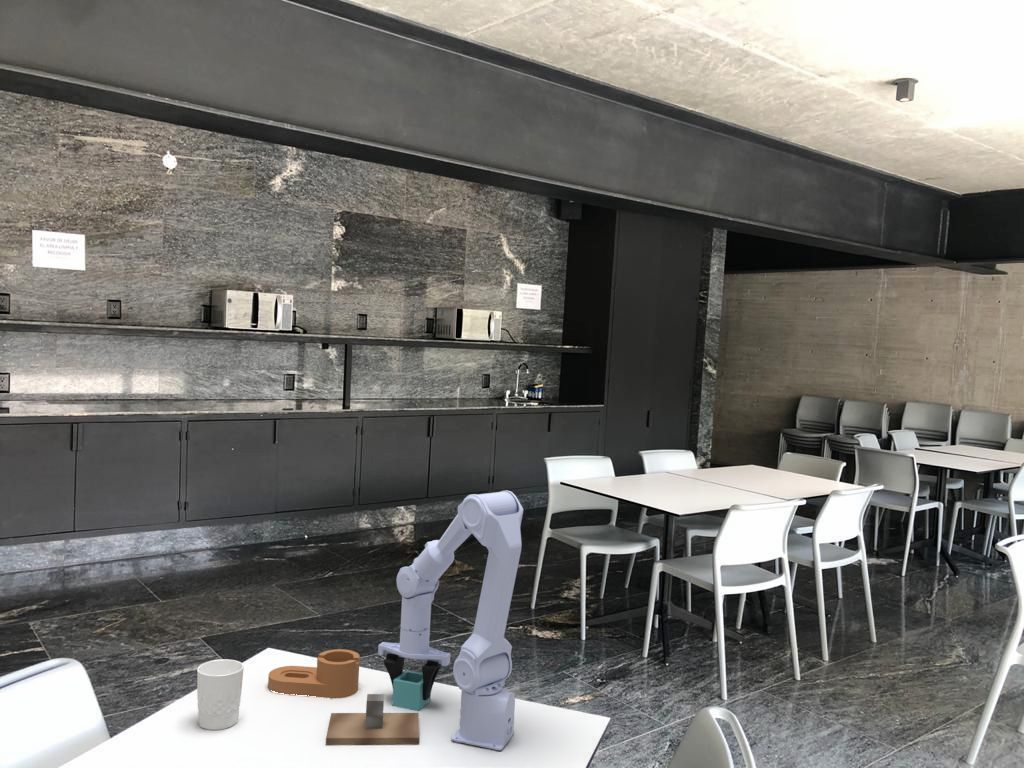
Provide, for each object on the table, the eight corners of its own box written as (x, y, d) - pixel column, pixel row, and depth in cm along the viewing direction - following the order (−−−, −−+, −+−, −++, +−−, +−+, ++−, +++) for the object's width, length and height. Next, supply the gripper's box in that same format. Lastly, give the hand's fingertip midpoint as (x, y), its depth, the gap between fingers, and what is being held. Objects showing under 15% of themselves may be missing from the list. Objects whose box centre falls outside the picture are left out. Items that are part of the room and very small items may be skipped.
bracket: (362, 684, 168) (363, 650, 168) (352, 700, 160) (353, 665, 160) (276, 677, 169) (277, 644, 169) (261, 693, 161) (263, 659, 161)
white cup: (222, 735, 143) (224, 678, 142) (185, 726, 145) (187, 671, 145) (250, 717, 150) (252, 663, 150) (214, 709, 153) (217, 656, 152)
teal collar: (430, 699, 162) (431, 674, 162) (418, 710, 157) (420, 685, 157) (404, 694, 164) (405, 670, 164) (392, 705, 158) (393, 680, 158)
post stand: (418, 719, 153) (419, 686, 153) (418, 744, 143) (420, 709, 143) (330, 719, 151) (332, 686, 151) (325, 745, 141) (327, 709, 141)
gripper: (457, 626, 161) (453, 694, 162) (390, 615, 166) (387, 681, 166) (443, 637, 155) (440, 708, 155) (374, 625, 159) (371, 694, 159)
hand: (411, 695), depth 160 cm, fingers closed on teal collar, 6 cm apart
